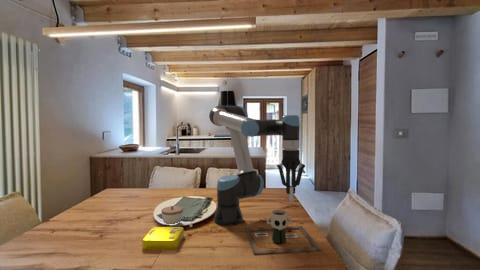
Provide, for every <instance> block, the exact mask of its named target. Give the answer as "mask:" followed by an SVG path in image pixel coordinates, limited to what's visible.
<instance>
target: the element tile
mask: <svg viewBox="0 0 480 270" xmlns="http://www.w3.org/2000/svg"><path fill="white" fill-rule="evenodd" d="M184 237H185V229H184V227H183V226H153V227H152V228H151V229H150V230H149V231H148V232H147V233H146V234H145V236H144V237H143V238H142V239H141V240H142V241H141V242H142V243H141V244H142V246H141V247H142V250H144V251H145V250H146V251H147V250H148V251H150V250H153V251H154V250H156V251H158V250H161V251H165V250H166V251H173V250H177V249H179V246H180V244H181V243H182V241H183V239H184Z"/></svg>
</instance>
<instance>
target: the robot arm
mask: <svg viewBox="0 0 480 270" xmlns="http://www.w3.org/2000/svg"><path fill="white" fill-rule="evenodd" d="M208 118H209V121H210V123H212V124H213V125H215V126H217V127H225V128H226V131H227V132H229V134H230V140H231V144H232V147H233V154H234V159H235V163H236V167H237V174H231V175H230V174H228V175H227V174H226V175H223V176H221V177H219V178H218V179H217V182H216V193H217V194H216V197H217V199H216V200H217V201H216V203H217V206H216V209H215V213H214V216H213V219H214V223H215V224H217V225H220V226H228V227H229V226H235V225H239V224H241V223H242V222H243V221H244V220H243V219H244V218H243V217H244V216H243V213H242V210H241V207H240V200H243V199H247V198H248V199H249V198H254V197H256V196H260V195H261V194H262V193H263V191H264V185H265V182H264V178H263V177H262V175H260V174H258V172H257V170H256V169H255V168H254V166H253V162H252V158H251V154H250V148H249V145H248V141H247V137H250V138H251V137H265V136H266V137H267V136H269V137H270V136H282V147H281V148H282V149H283V150H282V159H281V162H280V163H279V164H278V163H277V164H276V168H277V169H278V172H279V175H280V179H281V180H280V181H281V185H283V186H284V187H285V189H286V190H285V192H286V194H288V197H287V199H288V201H289V203H290V202H294V194H296V188H297V186H299V185H300V184H301V180H302V177H303V171H304V169H305V167H306V165H305V164H303V163H302V162H301V160H300V129H301V128H300V126H301V125H300V116H299V115H297V114H290V115H288V114H285V115H282V119H276V118H275V119H274V118H273V119H271V118H270V119H256V118H255V119H254V118H251V117H249V114H248V111H247V109H246V108H244V107H243V106H239V105H216V106H215V107H213V108H211V110H210V111H209V117H208ZM283 168H284V169H285V173H284V169H283ZM297 168H298V170H297ZM296 173H297V174H296Z"/></svg>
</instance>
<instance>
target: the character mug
mask: <svg viewBox="0 0 480 270" xmlns="http://www.w3.org/2000/svg"><path fill="white" fill-rule="evenodd" d="M291 223H292V216H291V215H288V212H287V211H286V210H282V209H274V210H271V212H270V216H267V217H266V224H267V225H270V226H271V227H273V230H272V234H271V235H272V236H271V240H272V242H274V243H276V244H280V243H281V244H284V243H286V242H287V238H286V234H287V233H286V230H285V229H284V228H286V227H288V224H291Z"/></svg>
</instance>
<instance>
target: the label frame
mask: <svg viewBox="0 0 480 270" xmlns="http://www.w3.org/2000/svg"><path fill="white" fill-rule="evenodd" d="M284 229H285V231H286V230H299V231H300V232H301V234H302V235H303V236H304V237H305V238H306V240H307V241H308V242H309V243H310V244H311V246H312V247H298V248H297V247H296V248H295V247H294V248H283V249H282V248H281V249H266V250H265V249H264V250H263V249H262V250H261V249H260V250H258V247H257V244H256V242H255V239H254V236H255V237H256V238H258V237H261V238H262V237H269V234H268V232H261V231H273V227H272V226H271V227H253V228H252V227H251V228H245V232H246V234H247V238H248V241H249V244H250V248H251V249H252V253H253V255H255V256H257V255H259V256H260V255H273V254H287V253H289V254H290V253H304V252H305V253H306V252H321V251H322V250H323V249H322V248H321V247H320V245H318V243H317V242H316V241H315V240H314V239H313V237H312V236H311V235H310V234H309V233H308V232H307V230H306V229H305V228H304V227H303V226H302V225H294V226H293V225H292V226H287V227H286V228H284ZM252 232H253V233H254V232H255V233H254V236H253V233H252ZM285 234H286V239H294V238H298V235H297V233H285Z"/></svg>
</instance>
